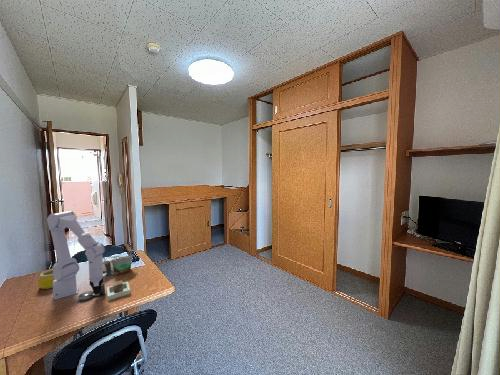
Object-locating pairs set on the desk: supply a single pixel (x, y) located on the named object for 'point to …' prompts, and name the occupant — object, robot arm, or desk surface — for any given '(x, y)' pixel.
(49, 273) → the mug
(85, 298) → the crank
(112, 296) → the tray
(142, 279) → the desk surface
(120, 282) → the block
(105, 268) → the giant panda
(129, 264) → the food container
